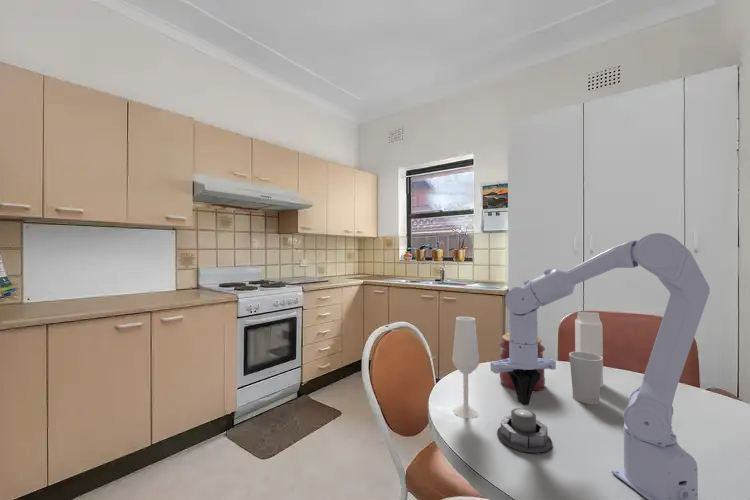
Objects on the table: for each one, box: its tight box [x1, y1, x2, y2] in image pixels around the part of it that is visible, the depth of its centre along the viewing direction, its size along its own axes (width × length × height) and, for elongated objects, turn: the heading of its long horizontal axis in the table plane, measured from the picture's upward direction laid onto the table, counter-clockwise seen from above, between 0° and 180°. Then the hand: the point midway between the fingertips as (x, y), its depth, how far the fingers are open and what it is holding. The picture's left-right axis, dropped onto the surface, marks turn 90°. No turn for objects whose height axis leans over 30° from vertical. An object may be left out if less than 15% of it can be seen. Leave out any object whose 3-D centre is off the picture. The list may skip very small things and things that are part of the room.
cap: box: [510, 407, 537, 434], centre depth 74 cm, size 5×5×5 cm
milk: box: [574, 311, 604, 388], centre depth 105 cm, size 6×6×22 cm
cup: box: [568, 351, 604, 405], centre depth 93 cm, size 8×8×12 cm
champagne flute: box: [451, 316, 480, 419], centre depth 86 cm, size 7×7×24 cm
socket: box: [496, 415, 553, 455], centre depth 74 cm, size 11×11×3 cm
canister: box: [498, 331, 546, 392], centre depth 104 cm, size 13×13×18 cm
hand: (523, 403), depth 74 cm, fingers closed
